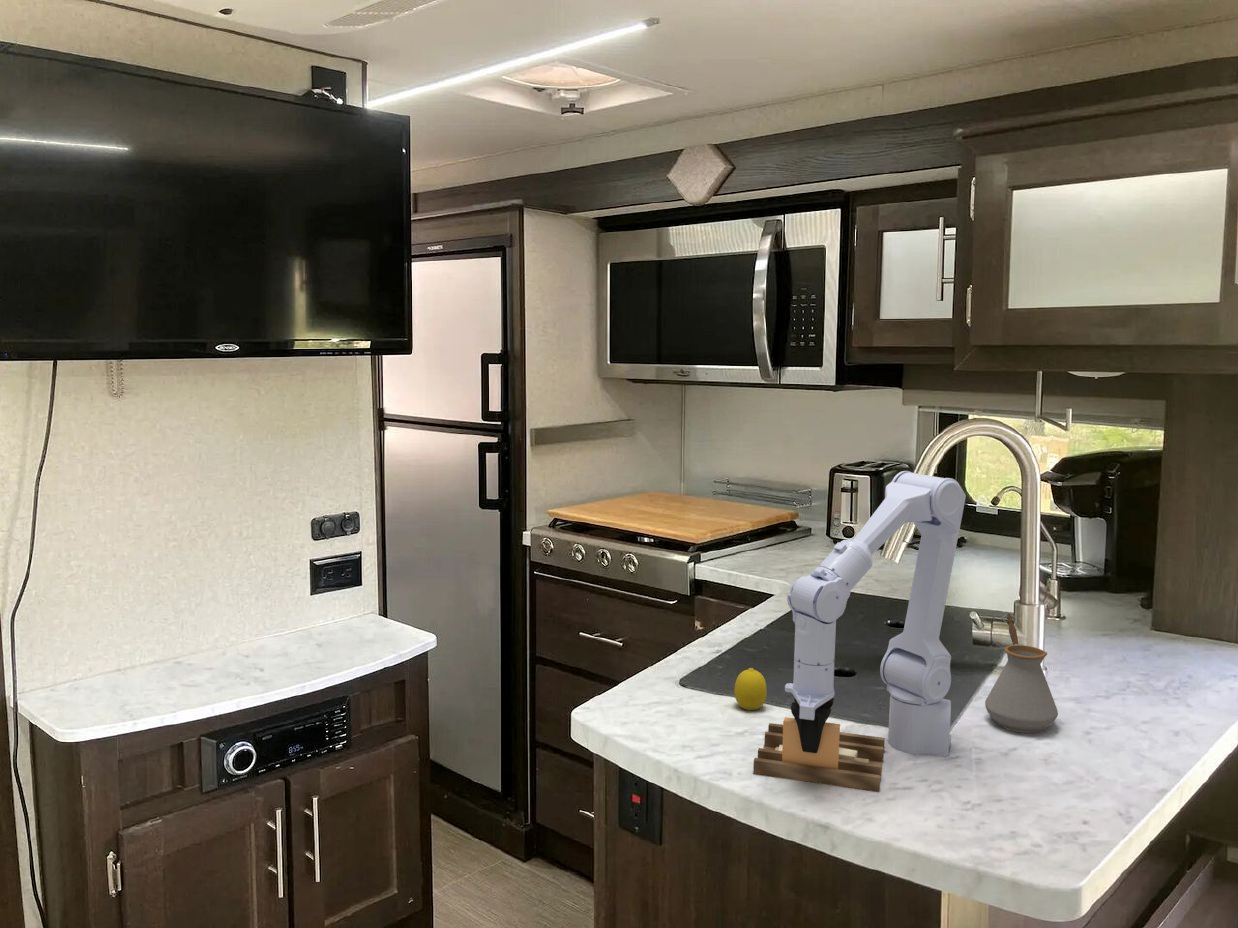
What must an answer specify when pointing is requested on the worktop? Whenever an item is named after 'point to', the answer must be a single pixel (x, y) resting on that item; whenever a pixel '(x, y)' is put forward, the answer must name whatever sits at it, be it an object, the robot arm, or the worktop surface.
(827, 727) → the orange square slab
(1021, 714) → the coffee pot
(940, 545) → the robot arm
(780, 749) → the offcut stack
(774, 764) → the rack
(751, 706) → the lemon
